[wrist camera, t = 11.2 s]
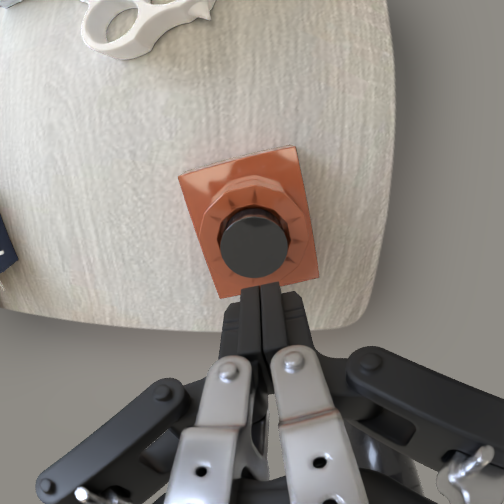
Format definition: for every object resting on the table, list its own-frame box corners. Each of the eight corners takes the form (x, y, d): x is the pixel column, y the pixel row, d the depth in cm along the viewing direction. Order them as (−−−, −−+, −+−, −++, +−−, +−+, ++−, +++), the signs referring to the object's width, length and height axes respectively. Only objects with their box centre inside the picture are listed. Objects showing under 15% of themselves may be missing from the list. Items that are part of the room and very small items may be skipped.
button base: (314, 264, 23) (325, 290, 19) (222, 284, 23) (217, 313, 20) (290, 144, 18) (300, 147, 15) (184, 171, 19) (169, 181, 16)
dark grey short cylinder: (290, 257, 18) (293, 270, 17) (232, 270, 19) (230, 284, 17) (277, 201, 17) (280, 209, 15) (215, 216, 17) (211, 225, 16)
